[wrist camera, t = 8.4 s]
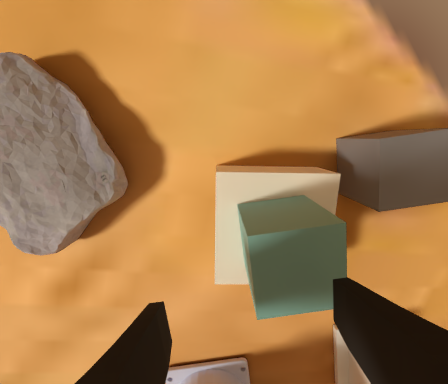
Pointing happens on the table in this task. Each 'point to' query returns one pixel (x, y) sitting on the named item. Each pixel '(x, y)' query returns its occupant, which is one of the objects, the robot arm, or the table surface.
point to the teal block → (291, 255)
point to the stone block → (49, 160)
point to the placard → (346, 363)
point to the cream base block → (259, 191)
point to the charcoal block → (394, 168)
